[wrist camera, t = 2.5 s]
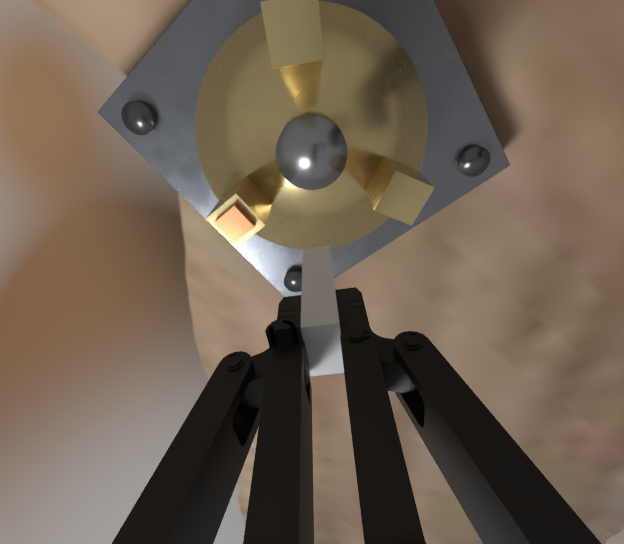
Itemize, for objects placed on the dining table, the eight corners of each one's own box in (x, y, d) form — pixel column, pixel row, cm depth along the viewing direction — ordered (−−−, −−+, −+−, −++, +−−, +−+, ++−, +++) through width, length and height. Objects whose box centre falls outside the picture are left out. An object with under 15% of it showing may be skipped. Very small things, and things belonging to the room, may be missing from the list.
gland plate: (345, -160, 17) (349, -194, 15) (496, 158, 25) (514, 167, 23) (113, 108, 23) (92, 112, 21) (294, 292, 32) (292, 308, 29)
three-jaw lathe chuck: (334, -61, 17) (344, -123, 12) (453, 158, 23) (498, 186, 17) (161, 121, 22) (110, 138, 16) (297, 266, 27) (293, 314, 22)
